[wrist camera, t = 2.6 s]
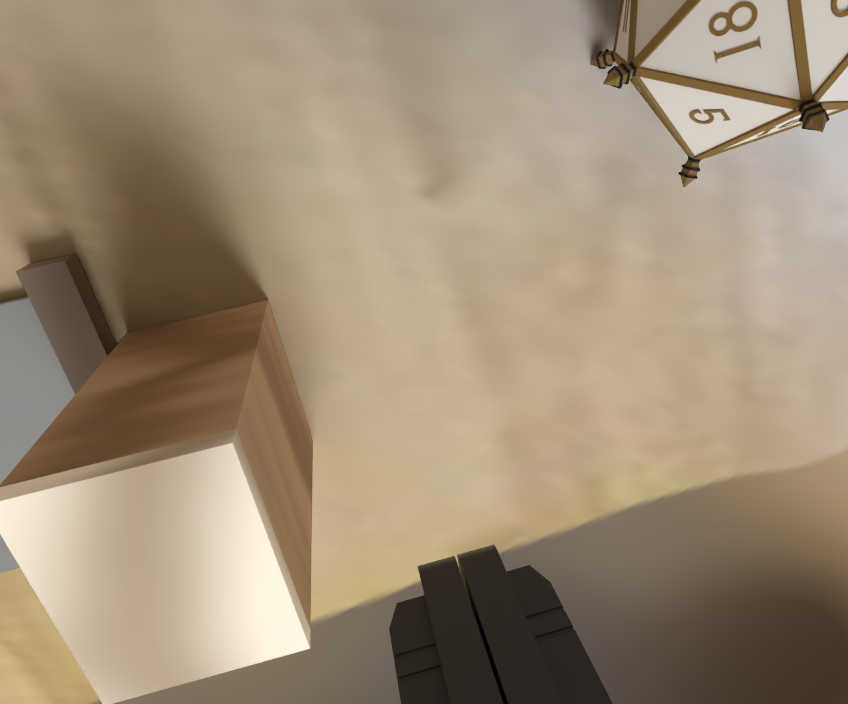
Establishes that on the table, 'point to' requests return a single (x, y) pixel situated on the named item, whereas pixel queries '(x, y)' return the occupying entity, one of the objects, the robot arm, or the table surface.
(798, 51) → the game die
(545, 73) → the table surface
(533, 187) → the table surface
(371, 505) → the table surface
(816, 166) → the table surface
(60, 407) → the slate-grey rubber mat
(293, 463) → the walnut block
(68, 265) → the stop strip
